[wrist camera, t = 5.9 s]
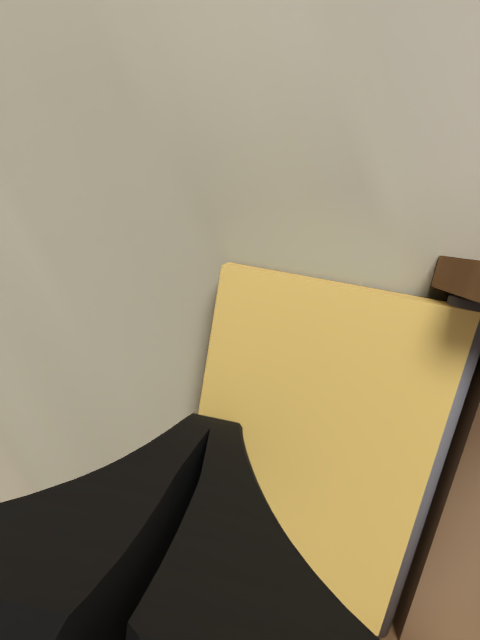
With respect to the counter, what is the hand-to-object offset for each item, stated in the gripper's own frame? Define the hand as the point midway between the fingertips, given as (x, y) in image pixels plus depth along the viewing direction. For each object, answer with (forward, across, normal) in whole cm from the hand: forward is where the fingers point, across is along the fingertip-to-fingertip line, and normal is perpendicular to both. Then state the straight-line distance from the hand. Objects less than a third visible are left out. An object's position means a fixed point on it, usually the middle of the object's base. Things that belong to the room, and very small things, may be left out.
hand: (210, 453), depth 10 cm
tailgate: (+1, -6, 0) cm, 6 cm away
